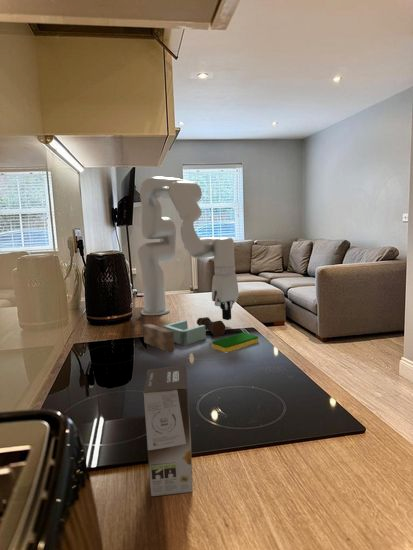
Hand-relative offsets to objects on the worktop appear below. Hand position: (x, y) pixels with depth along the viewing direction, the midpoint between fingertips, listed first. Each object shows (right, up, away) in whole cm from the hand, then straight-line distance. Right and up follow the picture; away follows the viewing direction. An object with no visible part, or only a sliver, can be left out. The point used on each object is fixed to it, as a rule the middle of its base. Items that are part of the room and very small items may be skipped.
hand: (226, 319), depth 142 cm
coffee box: (-13, -15, -83) cm, 85 cm away
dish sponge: (+2, -6, -22) cm, 23 cm away
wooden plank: (-23, -7, -19) cm, 31 cm away
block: (-15, -5, -13) cm, 20 cm away
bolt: (-6, -4, -5) cm, 9 cm away
